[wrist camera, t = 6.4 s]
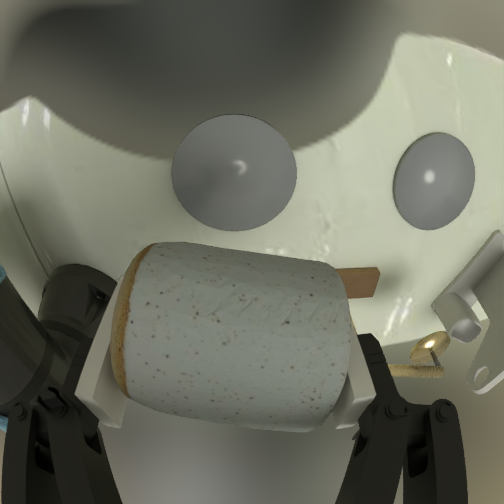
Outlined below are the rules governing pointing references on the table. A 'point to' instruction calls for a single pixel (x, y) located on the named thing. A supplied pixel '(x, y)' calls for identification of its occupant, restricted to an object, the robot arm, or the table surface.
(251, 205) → the dish low side
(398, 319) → the table surface
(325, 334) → the ceramic mug
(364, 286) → the balance
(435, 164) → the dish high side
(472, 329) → the phone holder
